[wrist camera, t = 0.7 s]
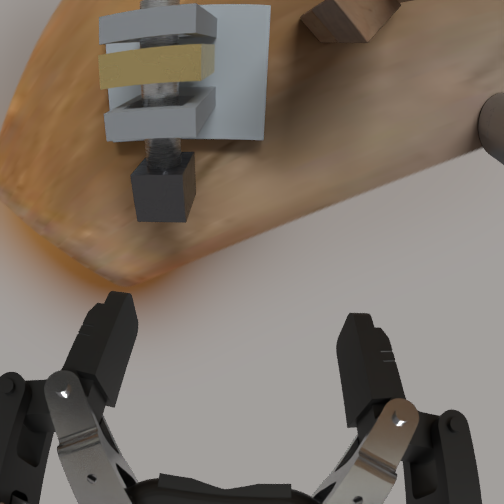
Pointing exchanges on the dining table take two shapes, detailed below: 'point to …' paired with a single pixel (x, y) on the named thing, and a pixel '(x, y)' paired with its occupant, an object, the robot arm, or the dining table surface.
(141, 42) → the shaft
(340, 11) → the wooden block
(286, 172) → the dining table surface
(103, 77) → the spacer
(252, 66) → the bracket
